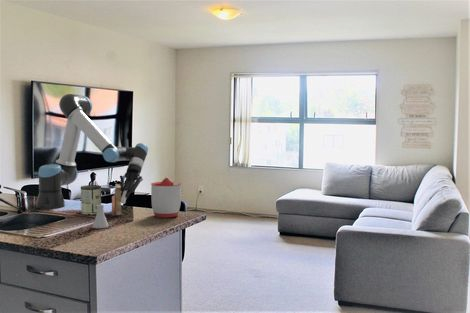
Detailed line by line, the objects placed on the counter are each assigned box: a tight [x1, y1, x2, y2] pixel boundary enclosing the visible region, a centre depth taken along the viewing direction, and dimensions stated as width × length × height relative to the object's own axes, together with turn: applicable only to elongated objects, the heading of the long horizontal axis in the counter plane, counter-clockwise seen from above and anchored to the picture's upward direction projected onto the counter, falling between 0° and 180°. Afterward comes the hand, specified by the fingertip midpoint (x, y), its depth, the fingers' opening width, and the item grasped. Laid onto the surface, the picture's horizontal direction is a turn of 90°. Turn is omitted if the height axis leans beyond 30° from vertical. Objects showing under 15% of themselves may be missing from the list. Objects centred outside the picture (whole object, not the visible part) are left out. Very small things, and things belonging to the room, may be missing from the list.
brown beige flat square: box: [114, 183, 122, 216], centre depth 240 cm, size 15×2×14 cm, turn 17°
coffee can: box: [80, 184, 102, 215], centre depth 242 cm, size 10×10×14 cm
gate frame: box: [111, 195, 117, 217], centre depth 243 cm, size 15×3×12 cm, turn 6°
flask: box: [92, 204, 109, 229], centre depth 210 cm, size 7×7×10 cm
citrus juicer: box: [150, 177, 183, 219], centre depth 237 cm, size 16×17×20 cm
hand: (122, 202), depth 240 cm, fingers closed
